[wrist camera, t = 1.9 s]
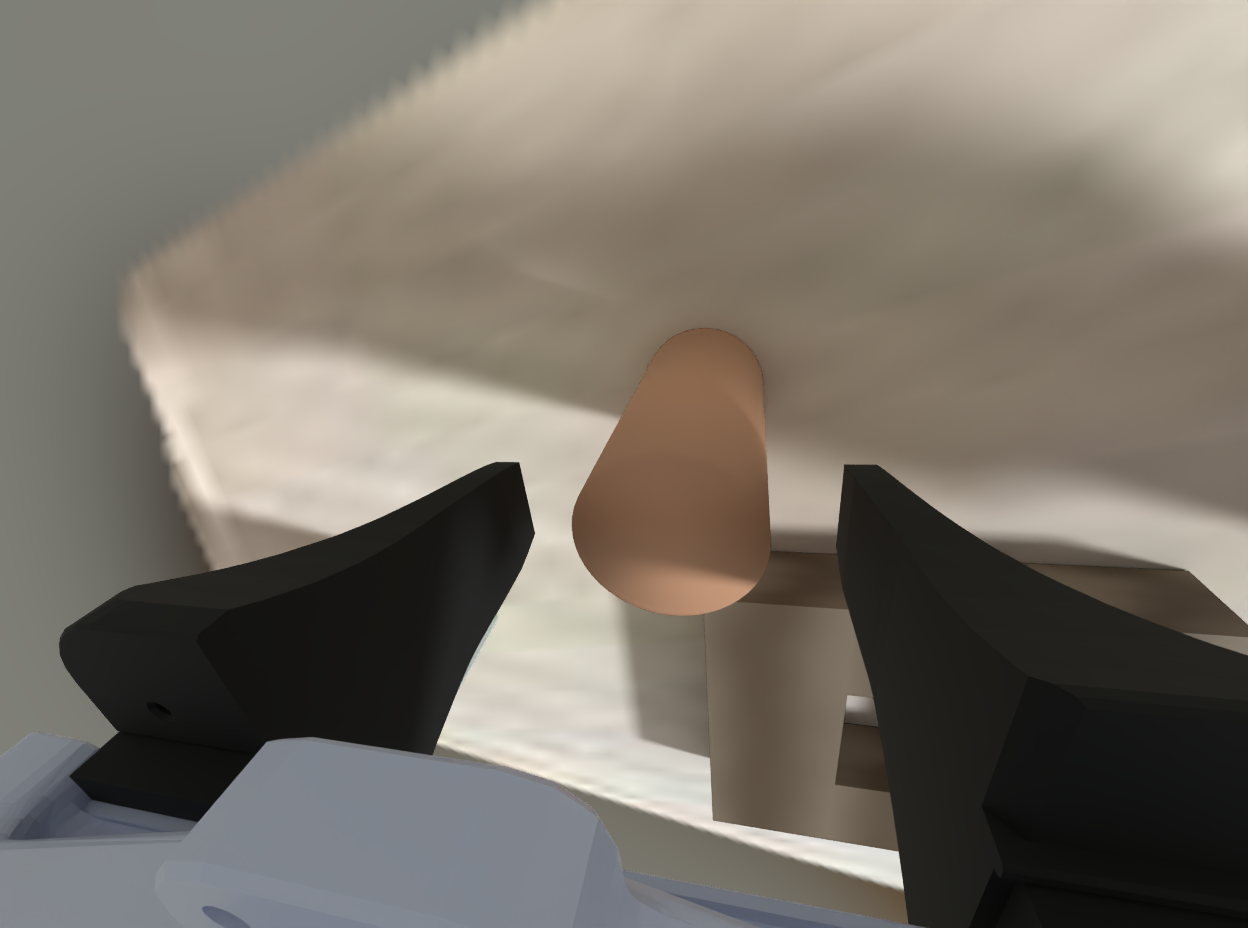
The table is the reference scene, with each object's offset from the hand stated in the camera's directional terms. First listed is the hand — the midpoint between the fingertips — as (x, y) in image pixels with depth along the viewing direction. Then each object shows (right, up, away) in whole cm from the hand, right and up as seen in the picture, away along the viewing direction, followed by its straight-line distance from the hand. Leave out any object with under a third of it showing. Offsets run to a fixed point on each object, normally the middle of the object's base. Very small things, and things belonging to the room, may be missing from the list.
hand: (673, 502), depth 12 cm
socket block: (+11, -9, +11) cm, 18 cm away
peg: (+2, +4, +6) cm, 8 cm away
